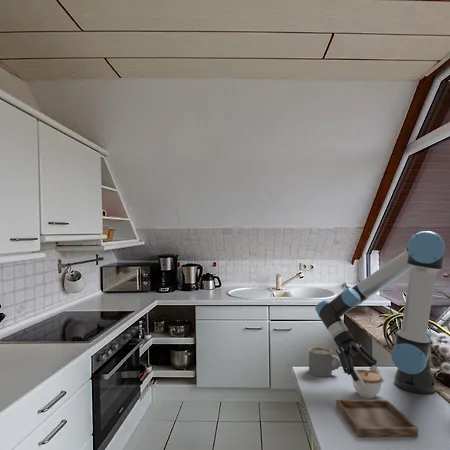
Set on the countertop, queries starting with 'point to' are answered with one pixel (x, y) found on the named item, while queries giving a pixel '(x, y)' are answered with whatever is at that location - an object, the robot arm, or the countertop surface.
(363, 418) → the walnut square tray
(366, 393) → the lidded jar
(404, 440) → the countertop surface
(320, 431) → the countertop surface
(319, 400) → the countertop surface
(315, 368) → the coffee mug
